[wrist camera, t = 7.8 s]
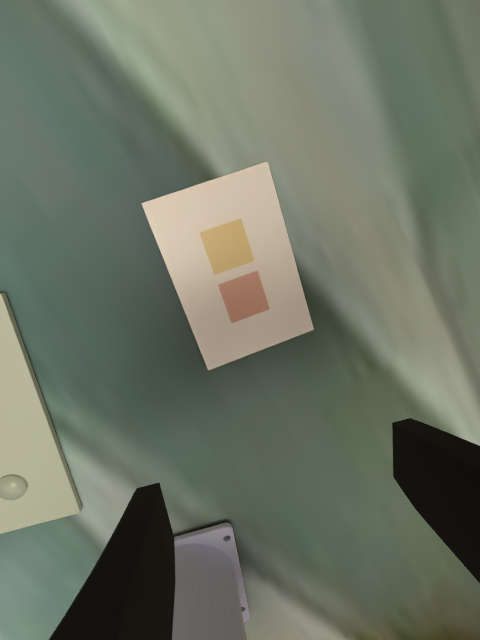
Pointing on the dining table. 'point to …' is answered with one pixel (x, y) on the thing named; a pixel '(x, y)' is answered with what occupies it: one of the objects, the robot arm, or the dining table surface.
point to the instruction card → (231, 264)
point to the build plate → (28, 441)
